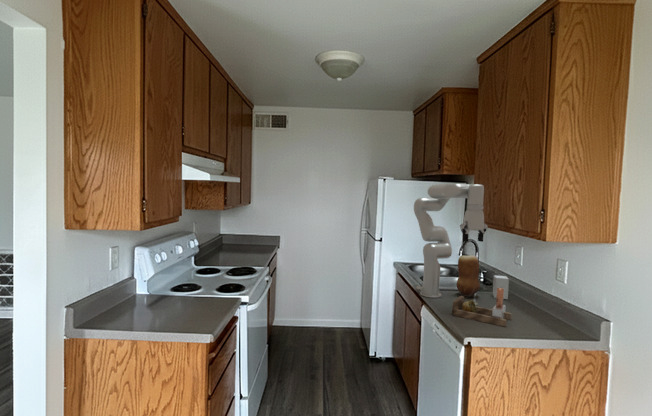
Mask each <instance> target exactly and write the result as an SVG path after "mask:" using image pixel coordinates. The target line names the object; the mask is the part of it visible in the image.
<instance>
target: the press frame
mask: <svg viewBox="0 0 652 416" xmlns="http://www.w3.org/2000/svg"><path fill="white" fill-rule="evenodd" d="M463 302H465V296H464V295H460V296H458V297H456V298H455V299H454V300H452V306H451V307H452V311H451V315H452V316H455V317H460V318H463V319H464V318H465V319H468V318H469V319H468V320H472V321H478V322H481V323H488V324H490V325H491V324H492V325H494V326H495V325H496V326H500V327H505V328H506V327H507V321H508V320H509V321H512V313H511V312H507V311H505V318H504V319H501V318H496V317H492V311H493V308H486V307H481V306H475V307H477V311H476V313H473V312H468V311H463V310H462V307H461V306H462V304H463Z"/></svg>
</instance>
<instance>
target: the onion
mask: <svg viewBox="0 0 652 416" xmlns="http://www.w3.org/2000/svg"><path fill="white" fill-rule="evenodd" d="M475 306H477V307H479V303H477V302H476V301H475V300H472V299H470V300H467V301H464V302H463V304H462V306H461V307H462V310H463V311H468V312H473V313H476V311H477V307H475Z"/></svg>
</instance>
